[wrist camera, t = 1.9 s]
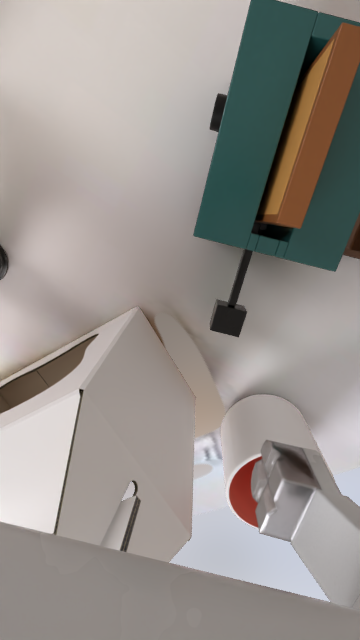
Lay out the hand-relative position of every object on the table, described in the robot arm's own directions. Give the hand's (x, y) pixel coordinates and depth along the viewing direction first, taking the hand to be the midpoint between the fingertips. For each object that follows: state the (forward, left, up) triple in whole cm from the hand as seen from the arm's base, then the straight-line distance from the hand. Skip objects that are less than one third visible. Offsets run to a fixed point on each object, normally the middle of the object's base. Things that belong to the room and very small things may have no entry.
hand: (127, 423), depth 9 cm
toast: (-11, +5, -21) cm, 24 cm away
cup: (+16, +14, -25) cm, 33 cm away
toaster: (-11, +5, -25) cm, 28 cm away
